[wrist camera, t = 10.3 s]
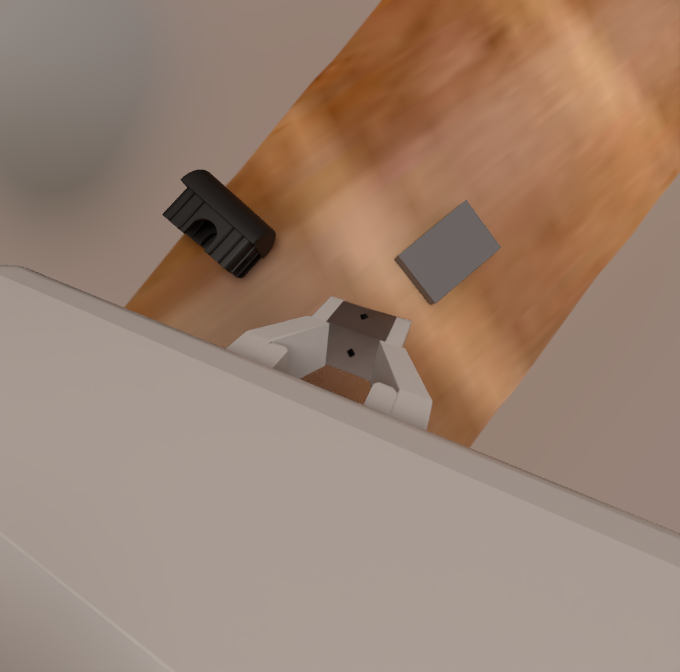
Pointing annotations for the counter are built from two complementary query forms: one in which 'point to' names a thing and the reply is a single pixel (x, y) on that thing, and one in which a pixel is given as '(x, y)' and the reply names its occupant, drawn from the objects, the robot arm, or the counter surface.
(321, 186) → the counter surface
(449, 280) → the slate tile
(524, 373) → the counter surface
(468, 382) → the counter surface
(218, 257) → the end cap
